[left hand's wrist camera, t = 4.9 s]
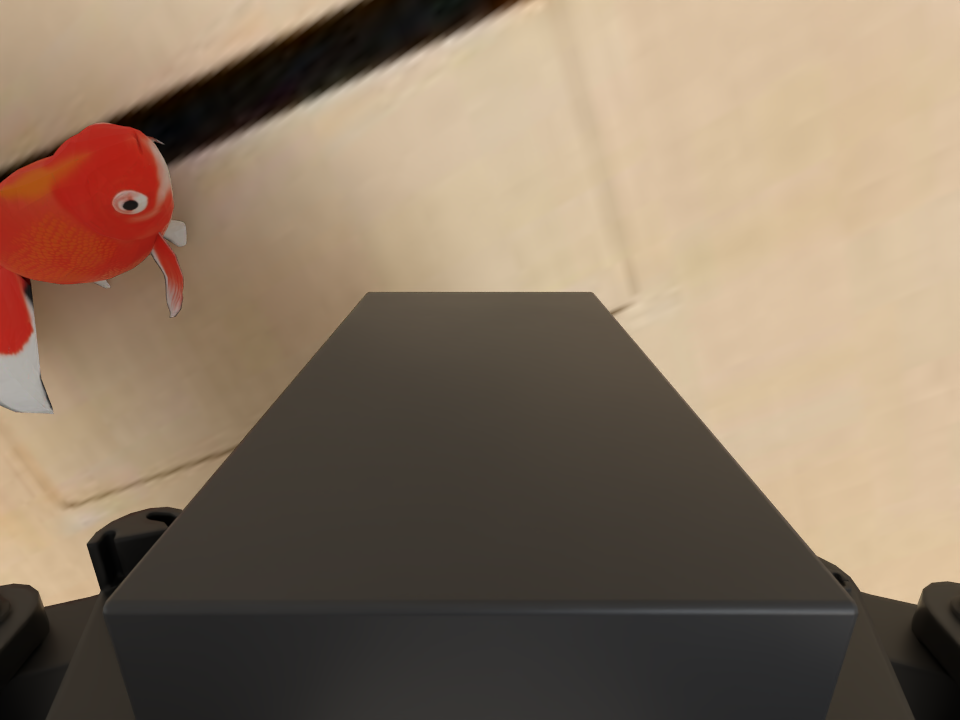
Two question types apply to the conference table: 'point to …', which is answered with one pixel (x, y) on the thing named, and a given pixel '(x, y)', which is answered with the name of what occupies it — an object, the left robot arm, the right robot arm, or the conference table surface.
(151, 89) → the conference table surface
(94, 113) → the conference table surface
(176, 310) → the fish
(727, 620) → the box
